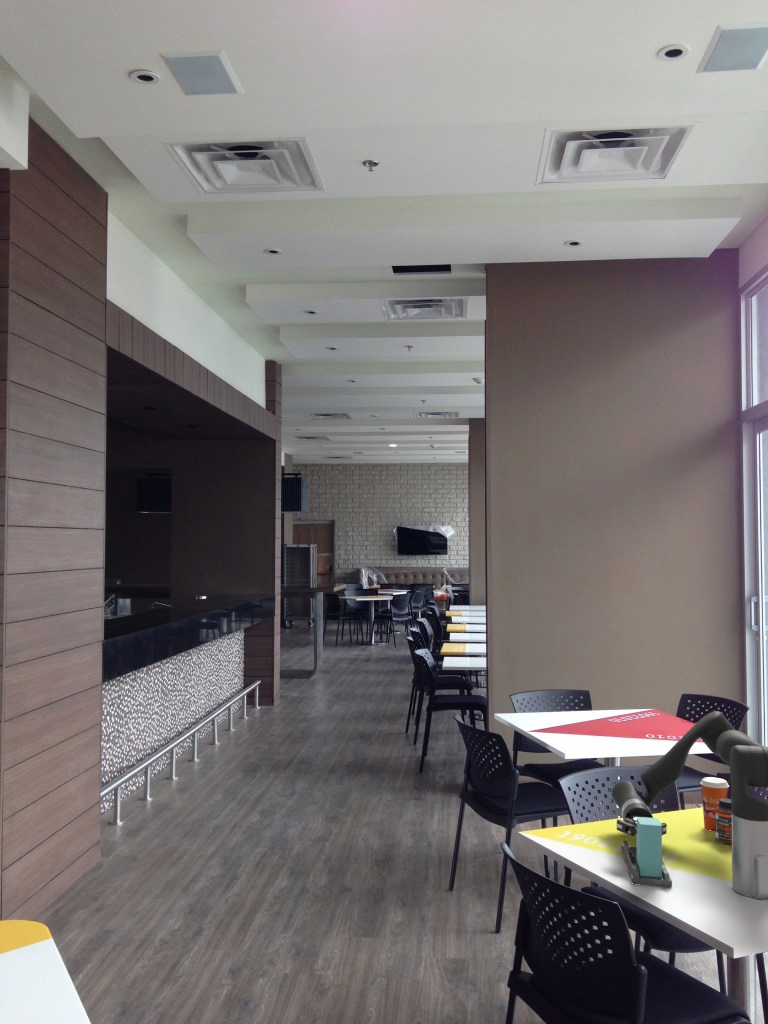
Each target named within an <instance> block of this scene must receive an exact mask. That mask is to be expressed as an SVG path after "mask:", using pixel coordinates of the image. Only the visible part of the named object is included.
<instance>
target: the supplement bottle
mask: <svg viewBox="0 0 768 1024" xmlns="http://www.w3.org/2000/svg"><path fill="white" fill-rule="evenodd" d="M714 833H715V834H714V838H715V840H716V842H717V843H720V844H722V843H723V845H726V844H730V845H729V846H732V802H731V798H727V799H719V806H718V807H716V810H715V832H714Z"/></svg>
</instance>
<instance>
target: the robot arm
mask: <svg viewBox="0 0 768 1024" xmlns="http://www.w3.org/2000/svg"><path fill="white" fill-rule="evenodd" d="M699 739H700V740H702V742H703V743H704V744H705V745H706V747H707V748H708V749H709V751H710V752H711V753H713V754H714V755H715V756H717V757H719V758H720V759H721V761H723V763H725V764H726V765H727V766H728V767H729V774H730V792H731V793H730V796H731V797H730V799H731V802H732V845H731V870H732V871H731V873H732V877H731V879H732V880H731V881H732V883H731V885H732V886H731V887H732V890H733V891H735V892H737V893H739V894H740V895H743V896H746V897H750V898H755V899H757V900H764V899H768V801H766V800H763V799H761V798H759V797H756V796H755V795H752V794H751V793H750V792H749V791H748V787H753V788H768V746H765V745H762V744H761V743H759V742H758V741H756V740H755V739H752V738H751V737H750V736H749V735H747V734H746V733H744V732H743V731H740V730H737V729H736V728H735V727H734V726H733V724H732V723H731V722H730V721H729V720H728V719H727V717H726V716H725V715H724V714H723V713H722V712H721V711H718V710H717V711H715V710H714V711H711V712H709V713H707V714H706V715H704V716H702V717H701V718H700V720H699V719H698V721H697V722H696V723H695V724H694V725H693V726H692V727H690V729H689V730H688V731H687V732H686V733H685V734H684V735H683V736H681V738H680V739H678V740H677V742H676V743H675V744H674V745H673V746H672V747H671V748H670V749H669V750H668V751H667V752H666V753H665V754H664V755H663V756H662V757H661V758H659V759H658V760H657V761H655V762H654V763H652V765H650V766H648V768H646V769H645V770H644V771H643V772H642V773H641V774H640V775H639V776H640V777H639V778H640V780H641V783H642V784H643V786H644V789H645V790H644V793H643V794H641V792H640V790H638V789H637V787H636V786H635V785H634V784H633V782H631V781H630V780H621V781H618V782H616V783H615V785H613V787H612V789H611V797H612V799H613V800H614V802H615V804H616V805H617V807H618V808H619V810H620V812H621V818H622V819H616V831H617V832H618V831H619V832H621V833H624V834H626V835H628V836H630V837H637V817H646V818H654V816H653V814H652V811H651V810H650V807H651V805H652V804H653V802H654V801H655V800H656V799H657V797H658V796H659V795H660V794H661V793H662V792H663V791H665V790H666V789H667V788H668V787H670V786H671V785H673V784H674V783H675V782H676V781H677V780H678V779H679V777H680V776H681V774H682V773H683V770H684V767H685V765H686V761H687V758H688V755H689V753H690V751H691V748H692V747H693V746H694V744H695V743H696V742H697V741H698V740H699ZM660 823H661V825H662V836H664V835H667V830H668V829H667V827H668V825H667V823H666V822H660Z"/></svg>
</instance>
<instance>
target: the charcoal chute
mask: <svg viewBox="0 0 768 1024" xmlns="http://www.w3.org/2000/svg"><path fill="white" fill-rule="evenodd" d="M622 843H623V844H622V845H620V853H621V856H622V859H623V862H624V864H626V865H625V868H626V867H627V868H626V870H628V871H627V874H628V876H629V879H630V882H631V881H632V882H631V884H632V883H633V884H632V885H634V884H640V885H639V886H646V885H647V886H648V887H649V886H650V887H660V888H670V889H671V888H673V880H672V878H671V875H670V873H669V871H668V869H667V867H666V865H665V863H664V860H663V859H662V877H649V876H640V874H639V870H638V867H637V846H630V844H629V841H628V840H626V839H624V840H622Z"/></svg>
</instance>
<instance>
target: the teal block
mask: <svg viewBox="0 0 768 1024" xmlns="http://www.w3.org/2000/svg"><path fill="white" fill-rule="evenodd" d="M661 823H662V822H661V821H660V820H659V818H656V817H653V818H646V817H637V836H636V847H637V867H638V870H639V874H640V876H649V877H662V860H663V835H662V825H661Z"/></svg>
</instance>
